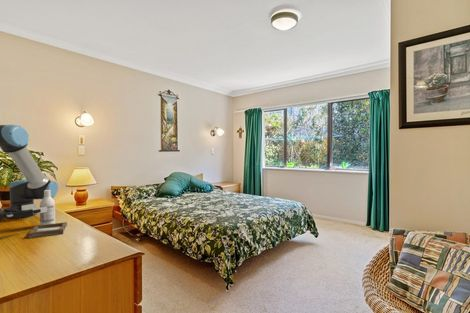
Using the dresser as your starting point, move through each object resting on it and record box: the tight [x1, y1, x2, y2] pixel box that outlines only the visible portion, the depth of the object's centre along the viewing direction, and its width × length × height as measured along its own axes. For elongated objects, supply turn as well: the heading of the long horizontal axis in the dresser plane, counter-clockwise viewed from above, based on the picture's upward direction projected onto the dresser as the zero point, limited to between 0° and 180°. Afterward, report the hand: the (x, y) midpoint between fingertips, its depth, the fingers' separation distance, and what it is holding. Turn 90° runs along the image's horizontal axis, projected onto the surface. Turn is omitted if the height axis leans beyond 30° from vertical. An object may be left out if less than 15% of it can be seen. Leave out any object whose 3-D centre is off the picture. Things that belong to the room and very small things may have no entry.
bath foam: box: [39, 190, 56, 225], centre depth 141 cm, size 7×7×20 cm
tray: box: [28, 221, 68, 239], centre depth 131 cm, size 14×14×2 cm
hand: (41, 207), depth 138 cm, fingers open, 13 cm apart
